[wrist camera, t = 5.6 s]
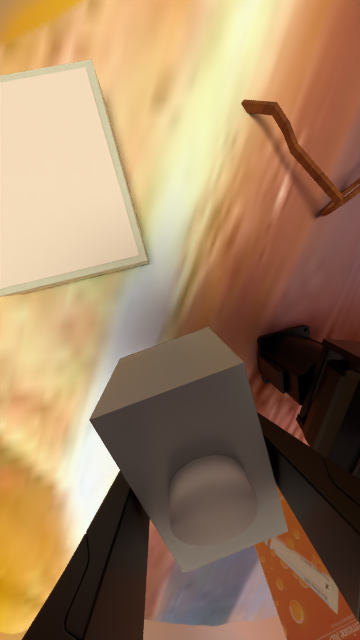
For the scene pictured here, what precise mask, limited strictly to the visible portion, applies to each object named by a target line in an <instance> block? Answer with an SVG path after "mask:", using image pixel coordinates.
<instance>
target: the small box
mask: <svg viewBox="0 0 360 640" xmlns="http://www.w3.org/2000/svg"><path fill="white" fill-rule="evenodd" d="M276 486H277V485H276ZM277 490H278V494H279V498H280V502H281V505H282V509H283V513H284V517H285V521H286V524H287V528H288V532H285V533H283V534H280V535H278V536H275V537H273V538H270V539H268V540H266V541H263V542H261V543H258V544H256V545H254V546H255V549H256V552H257V555H258V558H259V561H260V563H261V566H262V569H263V572H264V575H265V578H266V581H267V584H268V586H269V589H270V592H271V595H272V598H273V601H274V604H275V607H276V610H277V612H278V615H279V618H280V621H281V624H282V627H283V630H284V632H285V636H286V638H287V640H360V625H359V622H358V621H357V619H356V618H355V616H354V614H353V613H352V611H351V609H350V608H349V606H348V604H347V603H346V601H345V599H344V598H343V596H342V594H341V592H340V591H339V589H338V587H337V586H336V584H335V582H334V581H333V579H332V577H331V576H330V574H329V572H328V571H327V569H326V567H325V566H324V564H323V562H322V561H321V559H320V557H319V555H318V554H317V552H316V550H315V549H314V547H313V545H312V544H311V542H310V540H309V539H308V537H307V535H306V534H305V532H304V530H303V529H302V527H301V525H300V524H299V522H298V520H297V518H296V517H295V515H294V513H293V512H292V510H291V508H290V507H289V505H288V503H287V502H286V500H285V498H284V497H283V495H282V493H281V492H280V490H279V488H278V486H277Z"/></svg>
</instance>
